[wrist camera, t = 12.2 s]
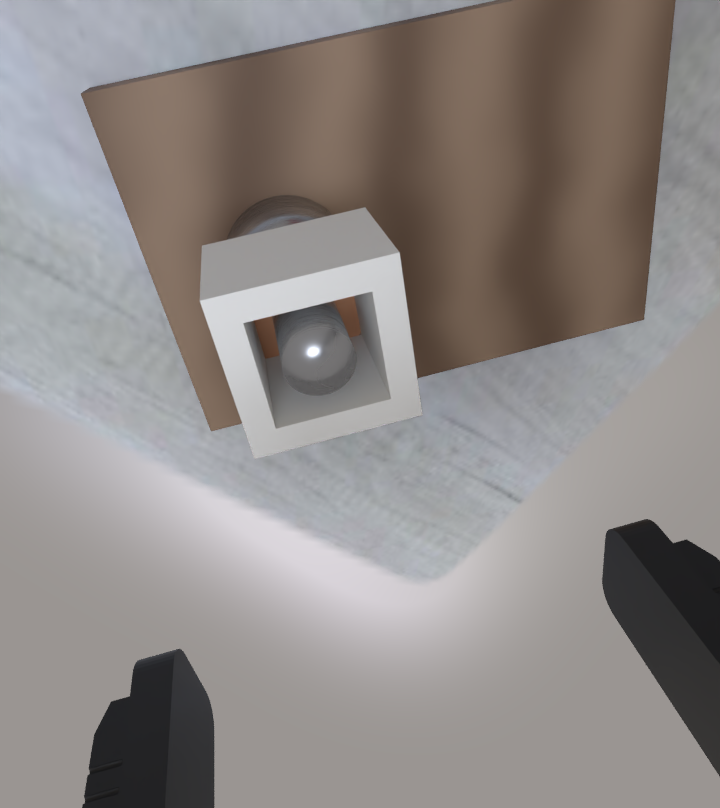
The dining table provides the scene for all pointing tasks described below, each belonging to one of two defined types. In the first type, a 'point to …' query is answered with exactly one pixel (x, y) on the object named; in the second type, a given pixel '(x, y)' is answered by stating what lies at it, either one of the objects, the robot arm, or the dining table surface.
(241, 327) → the collar
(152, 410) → the dining table surface
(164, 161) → the pipe stand
